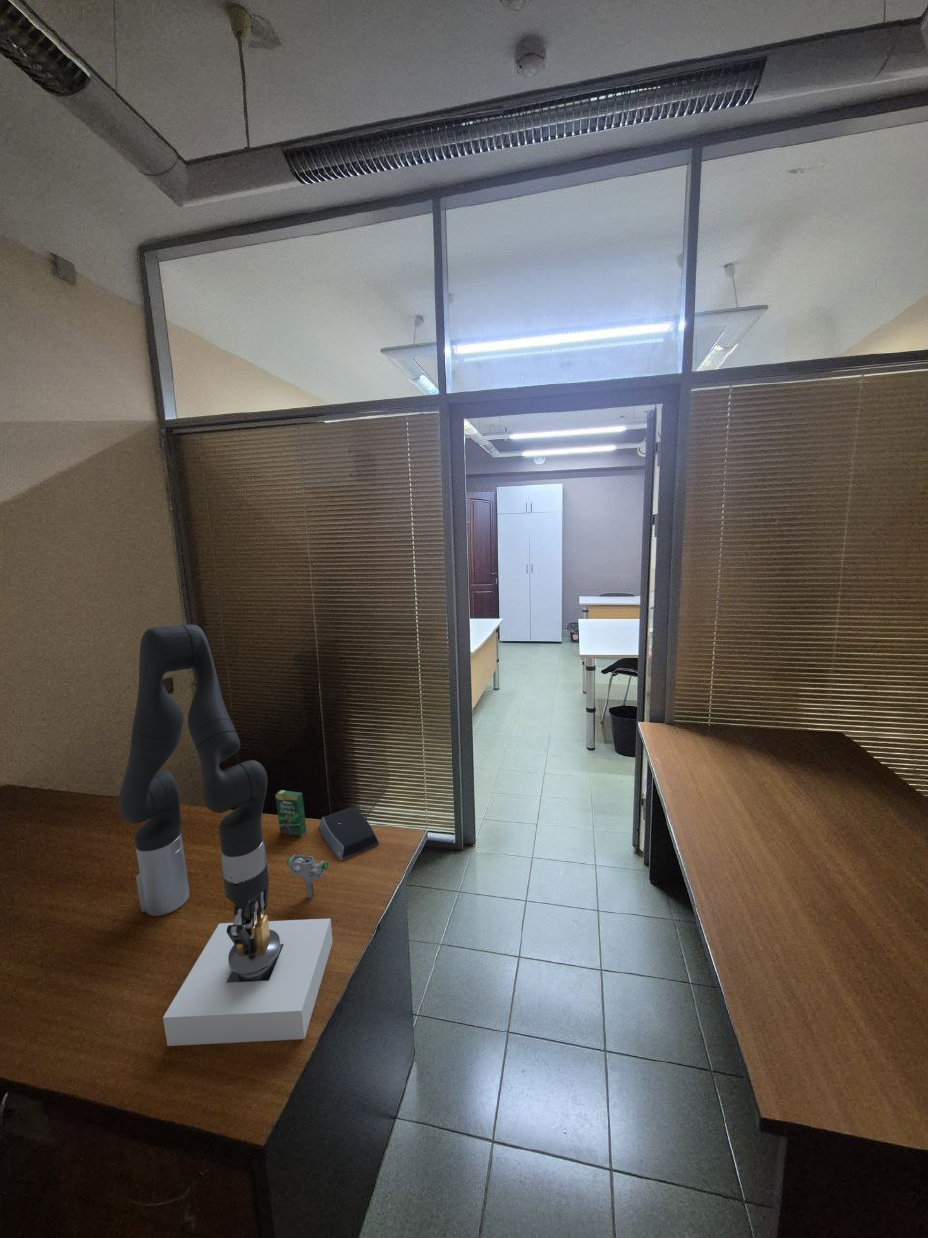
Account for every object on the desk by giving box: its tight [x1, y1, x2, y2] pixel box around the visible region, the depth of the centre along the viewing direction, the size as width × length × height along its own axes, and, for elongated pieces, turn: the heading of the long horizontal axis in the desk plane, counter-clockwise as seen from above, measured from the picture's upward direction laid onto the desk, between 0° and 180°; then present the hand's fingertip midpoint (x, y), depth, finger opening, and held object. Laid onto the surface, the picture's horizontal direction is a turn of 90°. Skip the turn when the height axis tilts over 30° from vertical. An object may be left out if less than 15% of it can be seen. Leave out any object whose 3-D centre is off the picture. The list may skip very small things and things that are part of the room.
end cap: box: [228, 914, 280, 982], centre depth 90 cm, size 9×9×12 cm
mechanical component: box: [286, 854, 329, 899], centre depth 114 cm, size 3×10×10 cm, turn 78°
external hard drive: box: [318, 806, 380, 861], centre depth 138 cm, size 13×19×4 cm
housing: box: [162, 918, 333, 1047], centre depth 91 cm, size 24×20×6 cm
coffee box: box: [275, 789, 307, 837], centre depth 139 cm, size 8×3×13 cm, turn 73°
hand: (254, 945), depth 90 cm, fingers closed on end cap, 3 cm apart
